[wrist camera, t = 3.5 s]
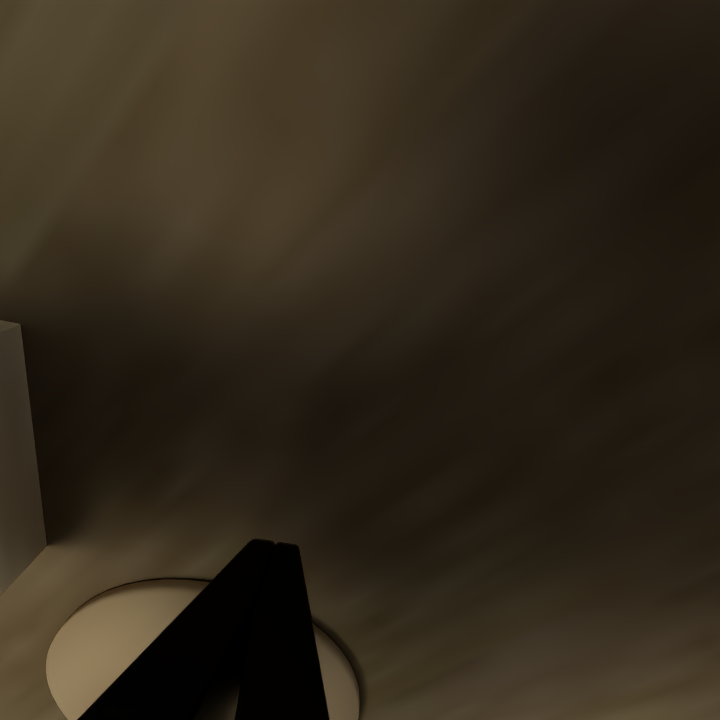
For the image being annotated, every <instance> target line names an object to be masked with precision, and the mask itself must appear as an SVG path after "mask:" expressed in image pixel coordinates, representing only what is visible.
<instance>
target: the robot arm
mask: <svg viewBox="0 0 720 720" xmlns="http://www.w3.org/2000/svg"><path fill="white" fill-rule="evenodd" d="M77 720H330V718H329V712H328V707H327V701H326V695H325V690H324V684H323V679H322V673H321V667H320V662H319V656H318V651H317V645H316V639H315V634H314V628H313V623H312V617H311V611H310V606H309V600H308V595H307V589H306V583H305V578H304V572H303V567H302V561H301V555H300V550H299V547H298V546H297V545H295V544H289V543H282V542H278V543H277V544H276V545H275V543H274V542H273V541H269V540H263V539H252V540H251V541H250V542H249V543H248V544H247V545H246V546H245V547H244V548H243V549H242V550H241V551H240V552H239V553H238V554H237V555H236V556H235V557H234V558H233V559H232V560H231V561H230V562H229V563H228V564H227V565H226V566H225V567H224V568H223V569H222V570H221V571H220V572H219V573H218V574H217V576H216V577H215V578H214V579H213V580H212V581H211V582H210V583H209V584H208V585H207V586H206V587H205V588H204V589H203V590H202V591H201V592H200V593H199V594H198V595H197V596H196V597H195V598H194V599H193V600H192V601H191V602H190V603H189V604H188V605H187V607H186V608H185V609H184V610H183V611H182V612H181V613H180V614H179V615H178V616H177V617H176V618H175V619H174V620H173V621H172V622H171V623H170V624H169V625H168V626H167V627H166V628H165V629H164V630H163V631H162V632H161V633H160V634H159V635H158V636H157V638H156V639H155V640H154V641H153V642H152V643H151V644H150V645H149V646H148V647H147V648H146V649H145V650H144V651H143V652H142V653H141V654H140V655H139V656H138V657H137V658H136V659H135V660H134V661H133V662H132V663H131V664H130V665H129V666H128V667H127V668H126V670H125V671H124V672H123V673H122V674H121V675H120V676H119V677H118V678H117V679H116V680H115V681H114V682H113V683H112V684H111V685H110V686H109V687H108V688H107V689H106V690H105V691H104V692H103V693H102V694H101V695H100V696H99V697H98V698H97V699H96V701H95V702H94V703H93V704H92V705H91V706H90V707H89V708H88V709H87V710H86V711H85V712H84V713H83V714H82V715H81V716H80V717H79V718H78V719H77Z"/></svg>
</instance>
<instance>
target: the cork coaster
mask: <svg viewBox="0 0 720 720" xmlns="http://www.w3.org/2000/svg"><path fill="white" fill-rule="evenodd" d="M209 583H210V582H205V581H195V580H177V579H163V580H152V581H142V582H137V583H132V584H127V585H123V586H120V587H117V588H114V589H111V590H108V591H105V592H103V593H101V594H99V595H97V596H95V597H93V598H91V599H90V600H89V601H87V602H86V603H84V604H83V605H82V606H80V607H79V608H78V609H77V610H76V611H75V612H74V613H73V614H72V615H71V616H70V617H69V618H68V620H67V621H66V622H65V624H64V625H63V626H62V628H61V629H60V631H59V632H58V633H57V635H56V637H55V638H54V640H53V642H52V643H51V646H50V649H49V652H48V655H47V662H46V673H47V681H48V684H49V687H50V690H51V693H52V695H53V697H54V699H55V701H56V703H57V705H58V707H59V708H60V709H61V711H62V712H63V713H64V715H65V716H66V718H67V719H68V720H77V719H78V718H79V717H80V716H81V715H82V714H83V713H84V712H85V711H86V710H87V709H88V708H89V707H90V706H91V705H92V704H93V703H94V702H95V701H96V699H97V698H98V697H99V696H100V695H101V694H102V693H103V692H104V691H105V690H106V689H107V688H108V687H109V686H110V685H111V684H112V683H113V682H114V681H115V680H116V679H117V678H118V677H119V676H120V675H121V674H122V673H123V672H124V671H125V670H126V668H127V667H128V666H129V665H130V664H131V663H132V662H133V661H134V660H135V659H136V658H137V657H138V656H139V655H140V654H141V653H142V652H143V651H144V650H145V649H146V648H147V647H148V646H149V645H150V644H151V643H152V642H153V641H154V640H155V639H156V638H157V636H158V635H159V634H160V633H161V632H162V631H163V630H164V629H165V628H166V627H167V626H168V625H169V624H170V623H171V622H172V621H173V620H174V619H175V618H176V617H177V616H178V615H179V614H180V613H181V612H182V611H183V610H184V609H185V608H186V607H187V605H188V604H189V603H190V602H191V601H192V600H193V599H194V598H195V597H196V596H197V595H198V594H199V593H200V592H201V591H202V590H203V589H204V588H205V587H206V586H207V585H208V584H209ZM313 628H314V634H315V639H316V645H317V651H318V656H319V662H320V667H321V673H322V679H323V684H324V690H325V695H326V701H327V707H328V712H329V718H330V720H358V718H359V702H360V698H359V687H358V683H357V680H356V676H355V673H354V671H353V669H352V667H351V665H350V663H349V661H348V660H347V658H346V657H345V655H344V654H343V653H342V651H341V650H340V648H339V647H338V646H337V645H336V644H335V643H334V642H333V641H332V640H331V639H330V638H329V637H328V636H327V635H326V634H325V633H324V632H323V631H322V630H320V629H319V628H318V627H317V626H315V625H314V624H313Z"/></svg>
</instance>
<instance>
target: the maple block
mask: <svg viewBox="0 0 720 720" xmlns="http://www.w3.org/2000/svg"><path fill="white" fill-rule="evenodd" d="M46 546H47V542H46V533H45V525H44V517H43V508H42V500H41V492H40V483H39V475H38V467H37V458H36V450H35V442H34V433H33V425H32V417H31V408H30V400H29V392H28V383H27V375H26V366H25V358H24V350H23V341H22V333H21V325H20V324H18V323H13V322H8V321H3V320H0V596H1V595H2V594H3V593H4V592H5V590H6V589H7V588H8V587H9V586H10V585H11V584H12V583H13V582H14V581H15V580H16V579H17V578H18V576H19V575H20V574H21V573H22V572H23V571H24V570H25V569H26V568H27V567H28V566H29V565H30V563H31V562H32V561H33V560H34V559H35V558H36V557H37V556H38V555H39V554H40V553H41V552H42V551H43V549H44V548H45V547H46Z"/></svg>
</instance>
